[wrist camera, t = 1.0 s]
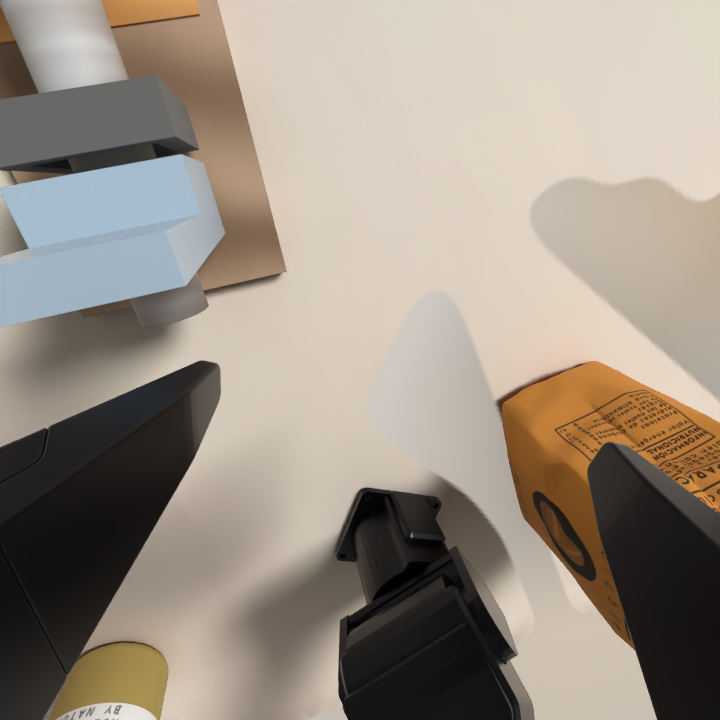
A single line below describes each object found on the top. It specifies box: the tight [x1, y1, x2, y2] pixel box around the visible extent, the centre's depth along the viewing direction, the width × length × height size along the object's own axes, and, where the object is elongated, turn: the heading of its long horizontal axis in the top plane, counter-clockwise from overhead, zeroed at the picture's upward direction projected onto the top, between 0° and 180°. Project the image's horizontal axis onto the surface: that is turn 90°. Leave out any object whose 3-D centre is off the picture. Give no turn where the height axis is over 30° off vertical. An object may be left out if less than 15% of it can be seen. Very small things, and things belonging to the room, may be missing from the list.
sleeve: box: [0, 154, 225, 327], centre depth 13 cm, size 3×5×11 cm, turn 101°
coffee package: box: [502, 361, 720, 650], centre depth 21 cm, size 10×12×22 cm
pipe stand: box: [0, 0, 287, 327], centre depth 15 cm, size 17×10×6 cm, turn 10°
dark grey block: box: [0, 75, 199, 174], centre depth 14 cm, size 2×5×5 cm, turn 100°
